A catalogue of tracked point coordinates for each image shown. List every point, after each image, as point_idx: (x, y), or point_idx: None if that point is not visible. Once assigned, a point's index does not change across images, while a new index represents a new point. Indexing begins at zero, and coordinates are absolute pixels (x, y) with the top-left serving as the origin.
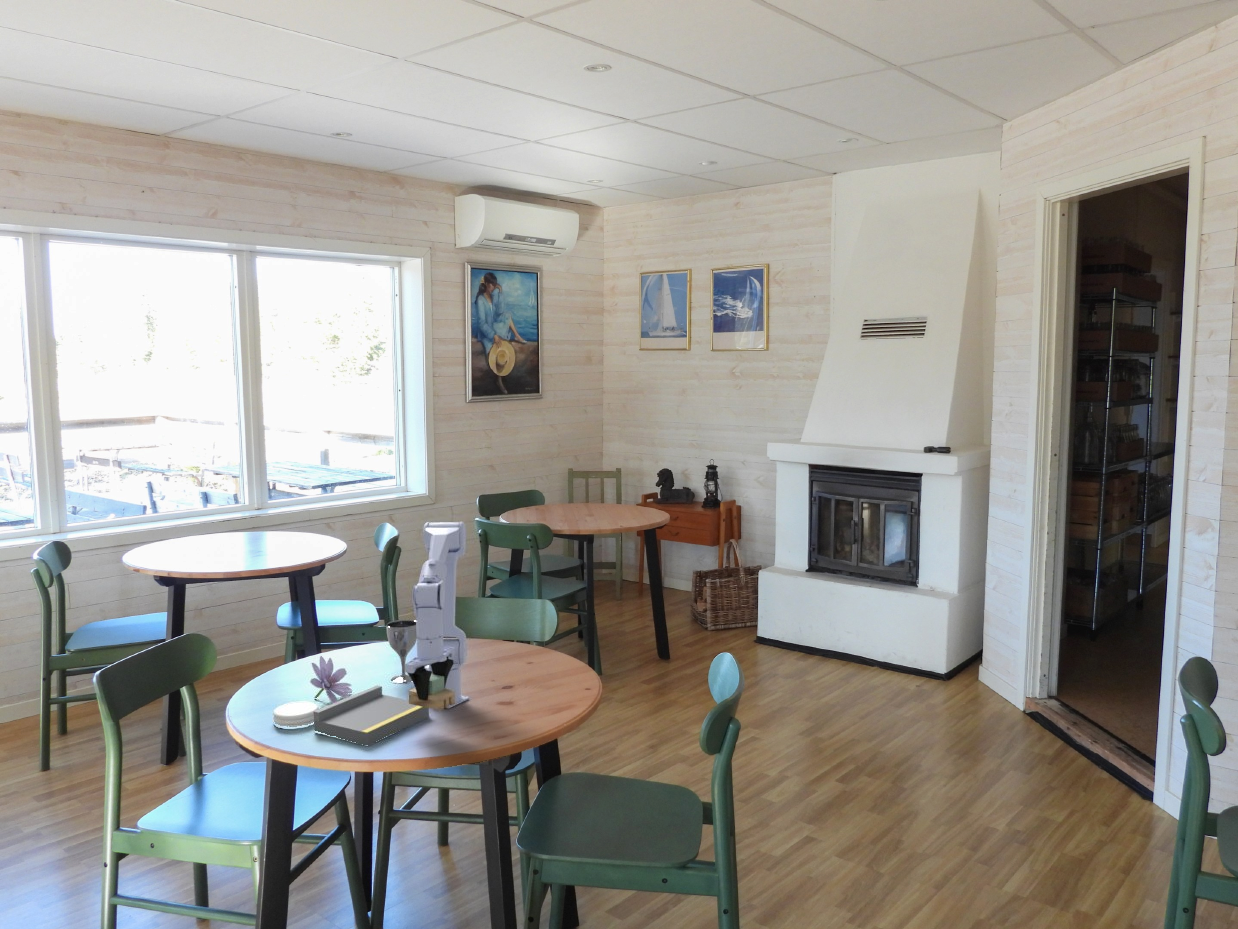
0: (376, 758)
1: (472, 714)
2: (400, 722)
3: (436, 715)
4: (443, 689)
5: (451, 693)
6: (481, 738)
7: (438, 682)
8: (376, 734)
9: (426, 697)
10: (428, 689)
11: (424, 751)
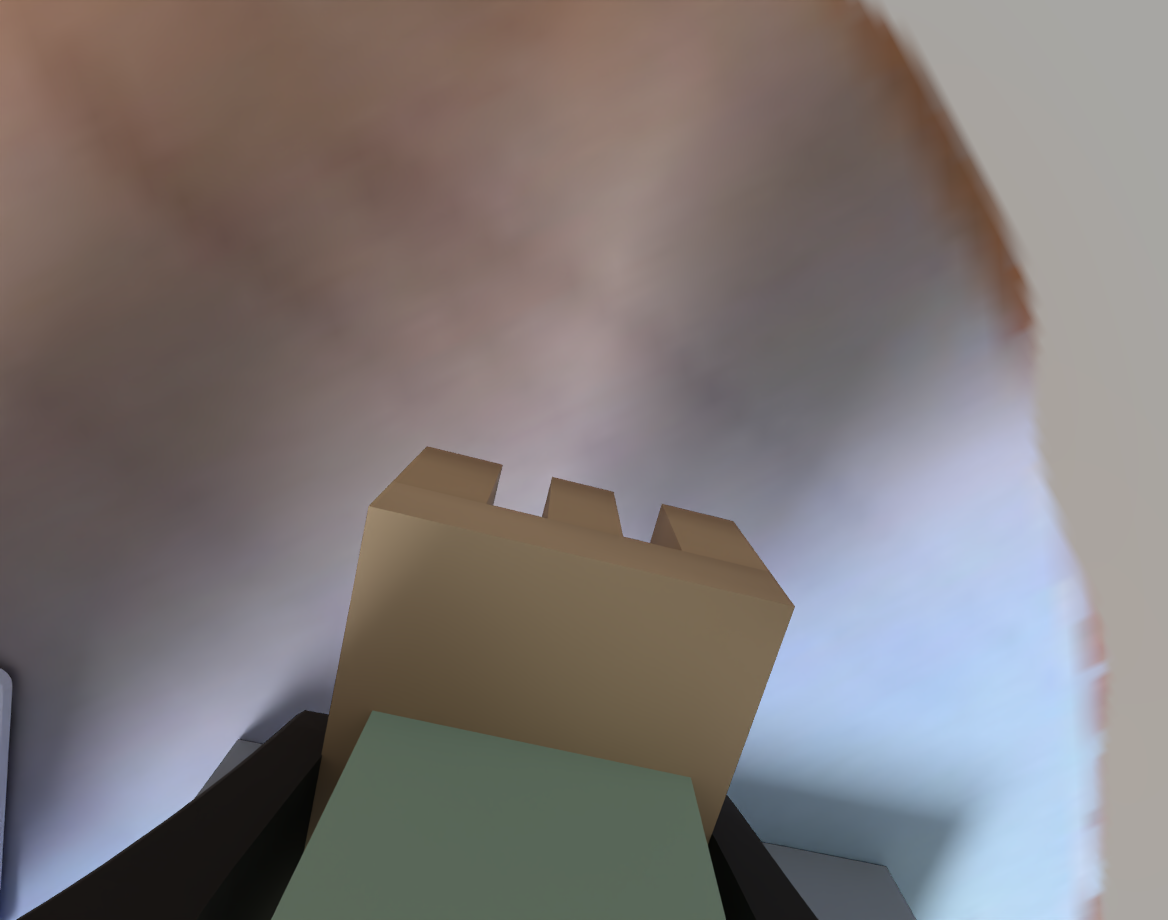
0: (1077, 722)
1: (32, 420)
2: None
3: (185, 700)
4: (396, 720)
5: (468, 521)
6: (556, 75)
7: (517, 904)
8: (823, 899)
9: (737, 821)
10: (755, 917)
11: (921, 458)
